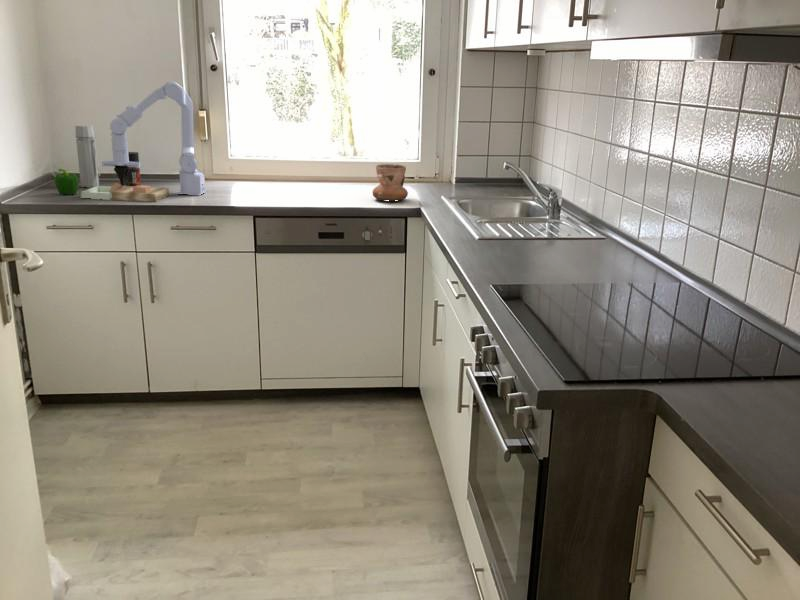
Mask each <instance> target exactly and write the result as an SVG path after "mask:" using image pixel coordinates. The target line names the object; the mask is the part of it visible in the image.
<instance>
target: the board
mask: <svg viewBox="0 0 800 600" xmlns="http://www.w3.org/2000/svg"><path fill="white" fill-rule="evenodd" d="M133 187H134V186H126V185H125V186H123V188H121V189H118V190H115V191H113V192H112V199H111V201H128V200H129V201H132V202H133V201H134V202H149V201H154V202H155V203H156V201H157V202H158V200H159V201H160V199H161V200H163V199H165V198H167V197H169V196H170V192H169V187H151V191H150V192H147V193H133ZM168 195H169V196H168ZM166 196H167V197H166ZM164 197H165V198H164ZM162 198H163V199H162ZM154 202H153V203H154Z"/></svg>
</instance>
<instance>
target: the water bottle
mask: <svg viewBox="0 0 800 600" xmlns="http://www.w3.org/2000/svg"><path fill="white" fill-rule="evenodd" d="M74 128H75V130H74V131H75V133H74V134H75V142H76V150H77V161H78V170H79V181H80V187H82V188H84V187H86V188H85V189H90V188H93V187H96V186H100V181H99V179H100V178H99V177H101V166H100V161H99V158H98V150H97V146H96V140H97V137H95V131H94V126H93V125H92V124H76V125H75V127H74Z"/></svg>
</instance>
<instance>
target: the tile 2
mask: <svg viewBox="0 0 800 600" xmlns="http://www.w3.org/2000/svg"><path fill="white" fill-rule="evenodd" d="M150 191H151V185H144V184H143V185H142V184H141V185H137V186H135V187H133V193H147V192H150Z"/></svg>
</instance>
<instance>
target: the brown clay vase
mask: <svg viewBox="0 0 800 600" xmlns="http://www.w3.org/2000/svg"><path fill="white" fill-rule="evenodd" d="M406 169H407V167H406V165H403V164H399V163H397V164H395V163H381V164H380V163H379V164H376V165H375V172H376V174H377V175H376V178H377V179H378V181H379V183H378V185H377V186H375V187H374V188H373V189H372V196H373V198H374V199H377V200H378V199H380V200H379V201H381V200H389V201H395V200H401V201H403V200H405V199H406V198H407V197H408V194H409V192H408V190H407V189H406V188H405V187H404V184H405V180H406V179H405V178H406V177H405V176H406V175H405V173H406V172H407V171H406Z"/></svg>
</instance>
